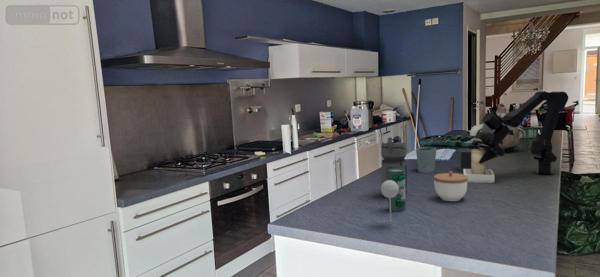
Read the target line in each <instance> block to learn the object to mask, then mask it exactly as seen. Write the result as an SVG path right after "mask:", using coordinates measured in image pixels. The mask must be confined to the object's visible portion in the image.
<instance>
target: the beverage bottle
mask: <svg viewBox="0 0 600 277" xmlns="http://www.w3.org/2000/svg"><path fill="white" fill-rule="evenodd" d="M380 145H381V146H380V153H381V154H380V155H381V157H382V160H381V182H382V183H381V185H382V184H383V183H384V182H385V181H387V170H388V169H391V168H401V169H404V170H405V196H406V195H407V193H408V185H407V184H408V175H407V174H408V172H407V170H408V169H407V166H408V165H407V160H406V159H405V158H406V156H407V155H408V154H407V153H408V150H407V144H406V143H405V142H402V139H401V137H400V136H399V135H396V136H394V137H393V138H392V137H387V142H384V141H382V142H381V144H380Z"/></svg>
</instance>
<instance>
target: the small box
mask: <svg viewBox="0 0 600 277" xmlns="http://www.w3.org/2000/svg"><path fill="white" fill-rule="evenodd" d="M471 150H472V149H470V148H457V169H458V170H459V171H460V172H462V173H463V169H471Z"/></svg>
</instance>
